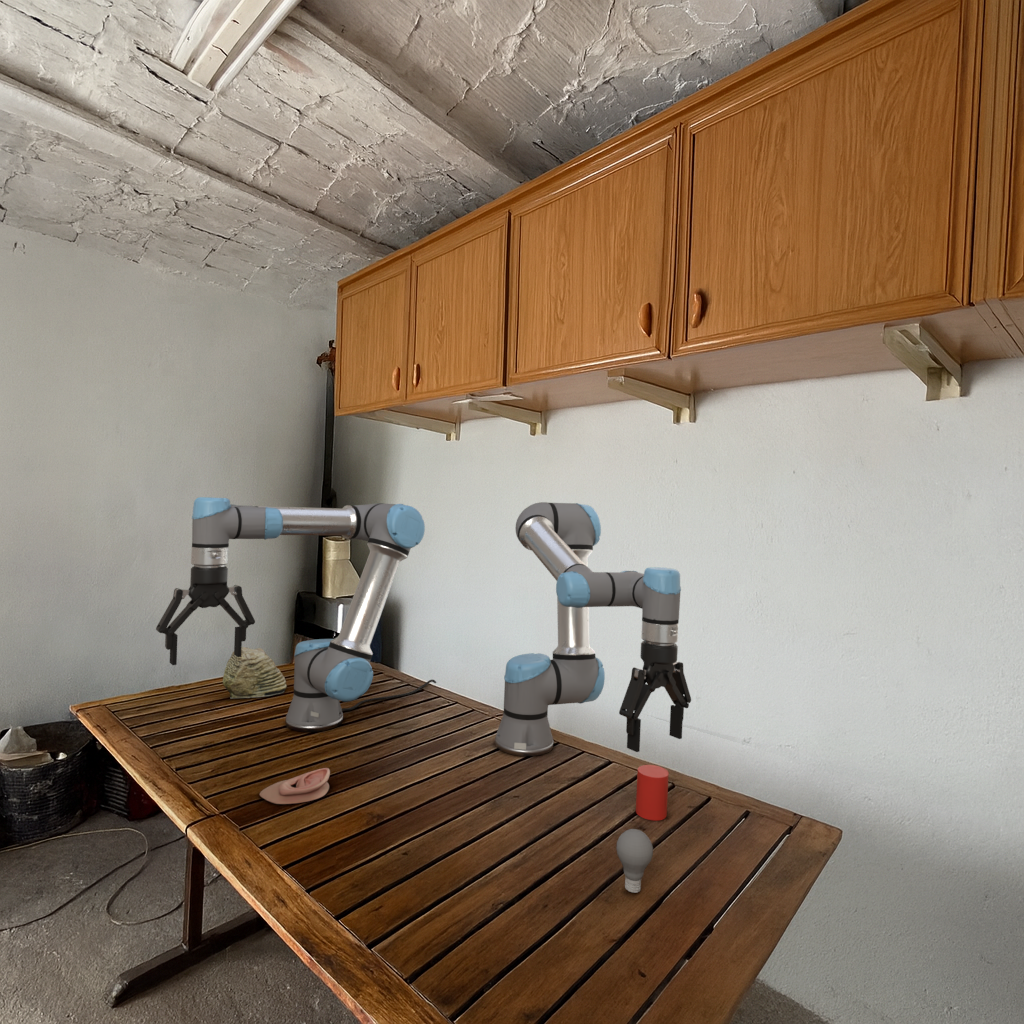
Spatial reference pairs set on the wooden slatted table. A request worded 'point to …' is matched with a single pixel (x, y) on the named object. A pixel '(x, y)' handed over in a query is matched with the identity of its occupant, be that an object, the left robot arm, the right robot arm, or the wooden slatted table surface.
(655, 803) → the cylinder
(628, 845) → the light bulb
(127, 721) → the wooden slatted table surface
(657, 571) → the right robot arm
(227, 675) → the fossil
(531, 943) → the wooden slatted table surface
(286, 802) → the anatomical model
